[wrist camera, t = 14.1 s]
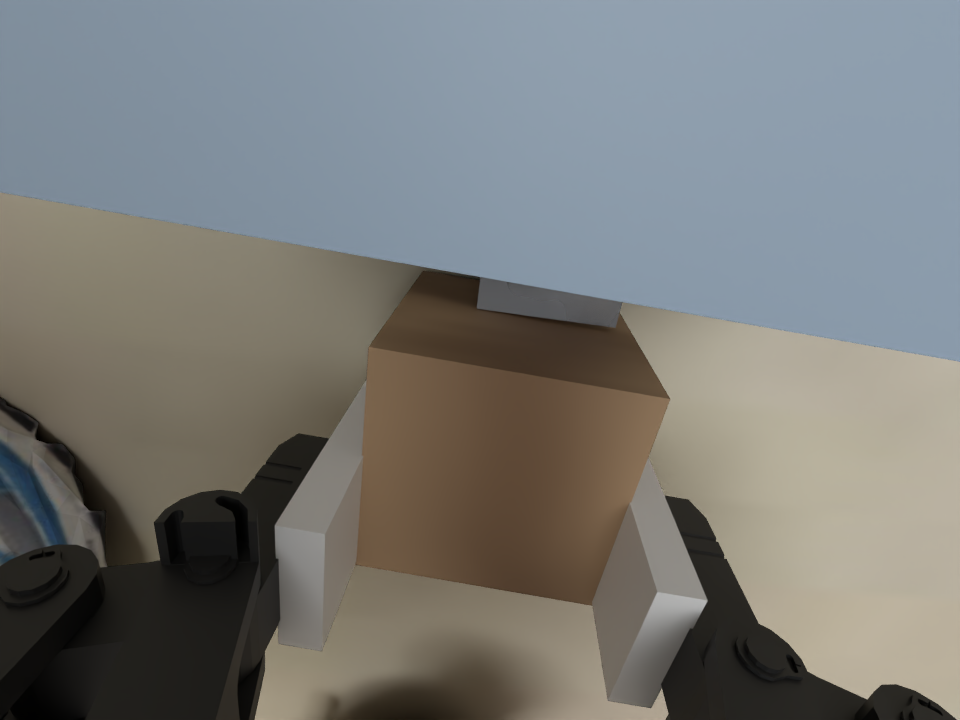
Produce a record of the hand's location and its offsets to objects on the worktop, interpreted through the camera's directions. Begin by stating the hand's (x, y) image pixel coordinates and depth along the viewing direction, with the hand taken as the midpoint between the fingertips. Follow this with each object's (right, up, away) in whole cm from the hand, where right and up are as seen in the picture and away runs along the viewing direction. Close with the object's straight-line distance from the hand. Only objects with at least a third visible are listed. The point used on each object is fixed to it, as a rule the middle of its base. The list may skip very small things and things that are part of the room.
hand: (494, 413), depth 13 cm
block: (0, +1, 0) cm, 1 cm away
